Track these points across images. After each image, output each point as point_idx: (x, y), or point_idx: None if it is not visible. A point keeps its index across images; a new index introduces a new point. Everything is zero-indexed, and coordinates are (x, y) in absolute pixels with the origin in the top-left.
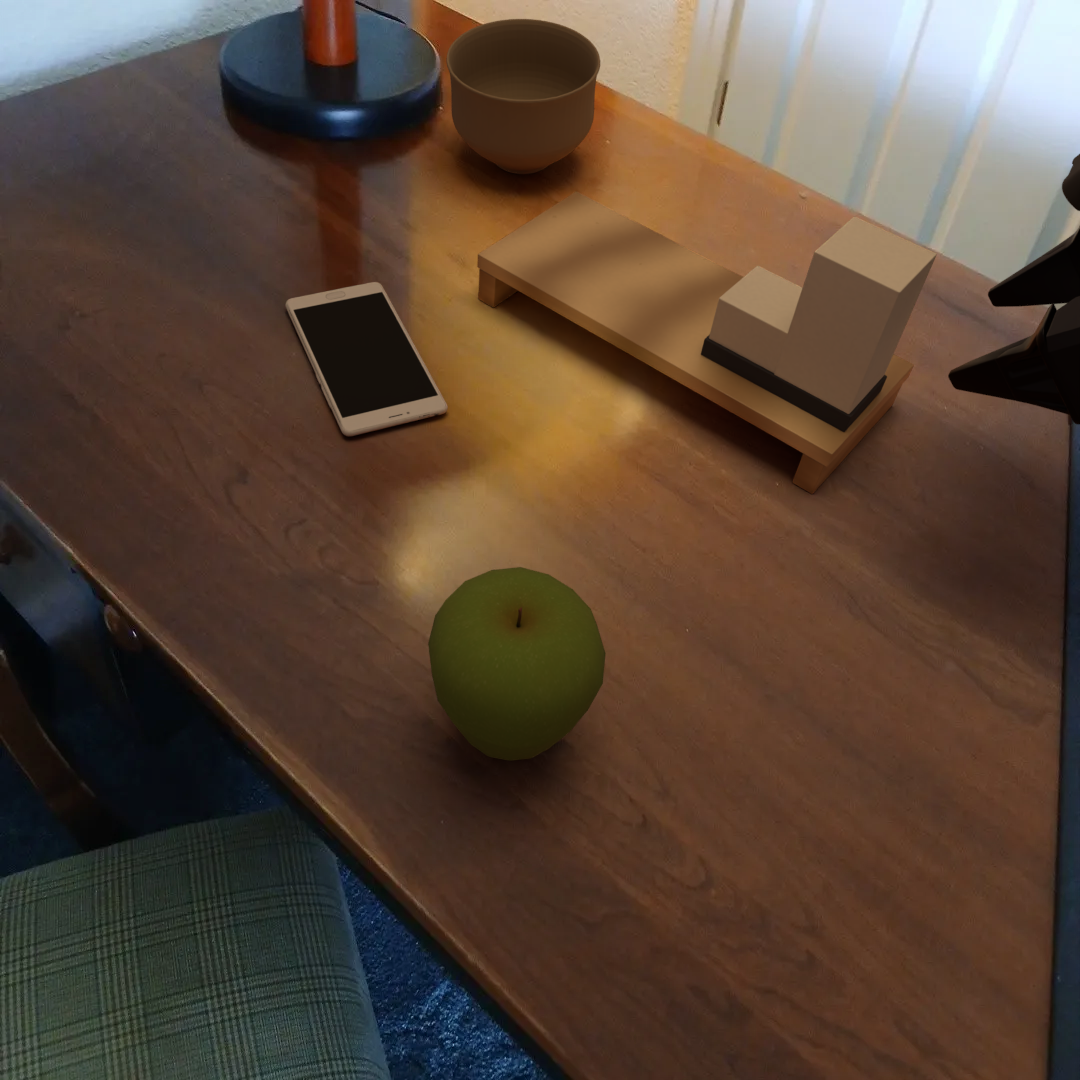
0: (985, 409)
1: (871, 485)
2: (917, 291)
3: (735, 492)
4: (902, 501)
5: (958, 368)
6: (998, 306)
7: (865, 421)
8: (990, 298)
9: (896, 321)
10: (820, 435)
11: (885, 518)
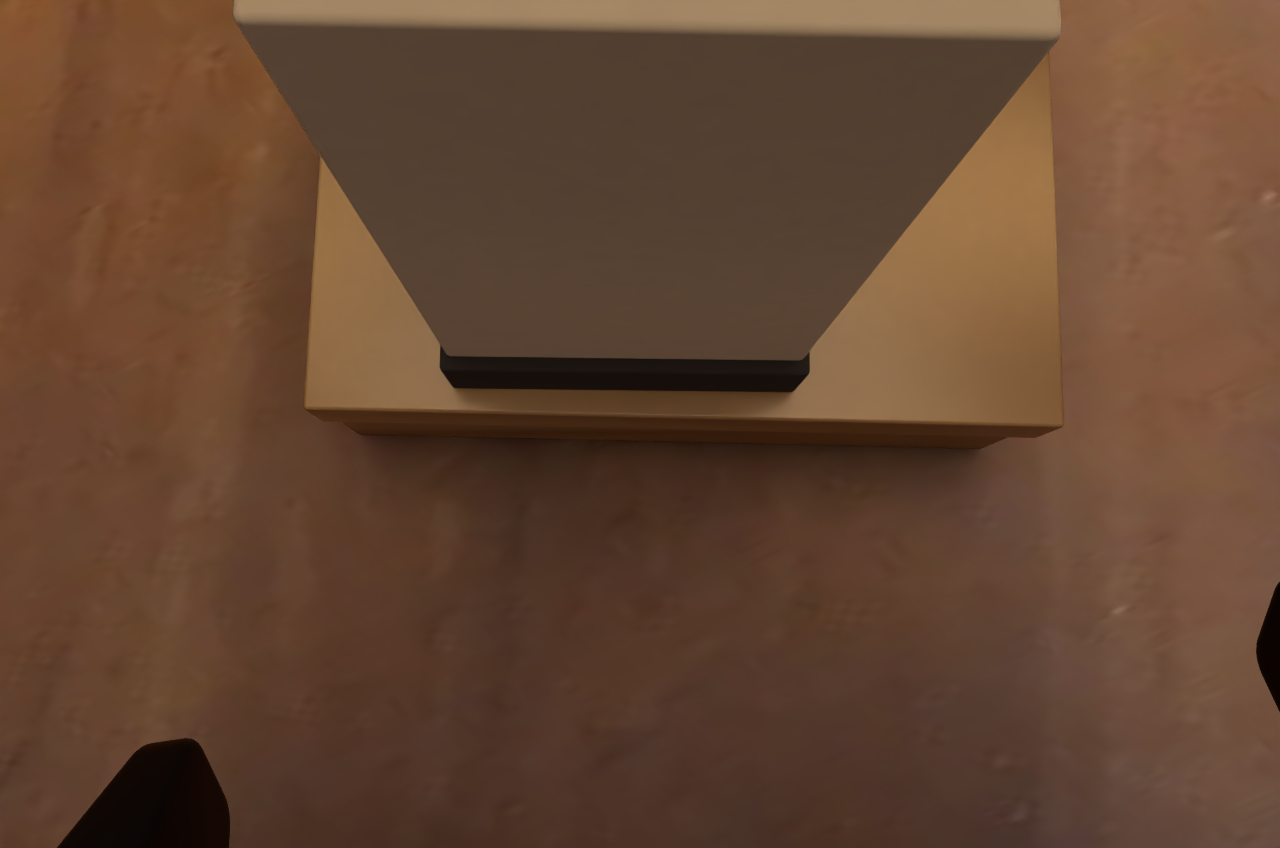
0: (1230, 737)
1: (544, 575)
2: (847, 170)
3: (197, 230)
4: (548, 699)
5: (128, 800)
6: (1268, 684)
7: (621, 422)
8: (1272, 610)
9: (583, 210)
10: (370, 322)
11: (429, 688)
